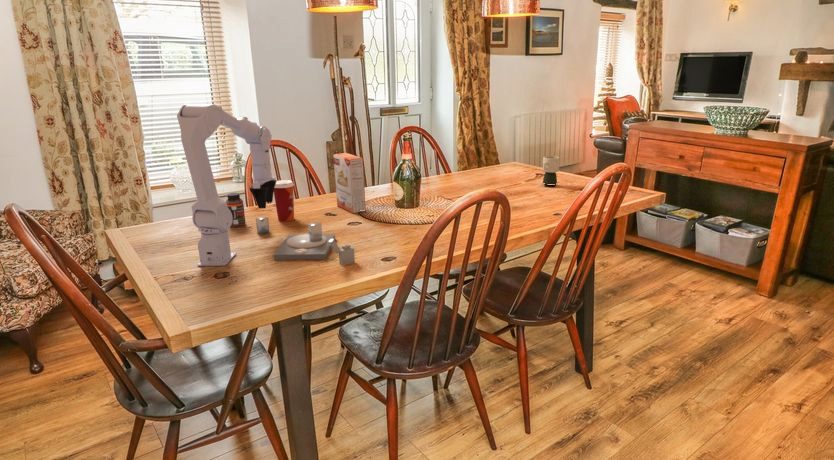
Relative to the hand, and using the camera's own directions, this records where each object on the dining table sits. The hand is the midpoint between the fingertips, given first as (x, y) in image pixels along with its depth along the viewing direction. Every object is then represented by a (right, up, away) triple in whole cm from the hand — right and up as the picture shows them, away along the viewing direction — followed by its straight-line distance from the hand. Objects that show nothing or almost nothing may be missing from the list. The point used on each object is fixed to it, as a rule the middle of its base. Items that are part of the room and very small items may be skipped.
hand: (265, 205), depth 171 cm
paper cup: (+2, -5, +19) cm, 19 cm away
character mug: (+109, +11, +62) cm, 126 cm away
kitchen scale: (+16, -14, -12) cm, 24 cm away
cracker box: (+24, 0, +31) cm, 39 cm away
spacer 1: (-2, -9, +5) cm, 10 cm away
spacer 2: (+19, -11, -11) cm, 24 cm away
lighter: (+29, -18, -24) cm, 42 cm away
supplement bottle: (-14, -7, +13) cm, 20 cm away
